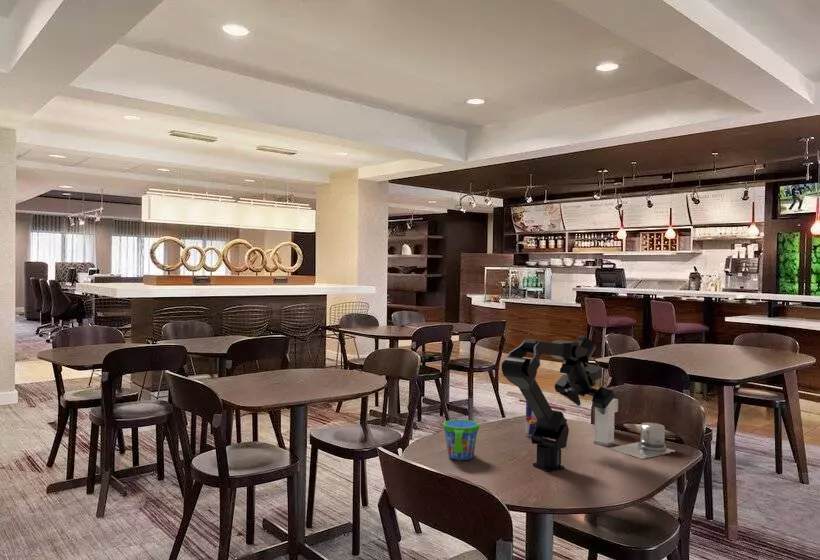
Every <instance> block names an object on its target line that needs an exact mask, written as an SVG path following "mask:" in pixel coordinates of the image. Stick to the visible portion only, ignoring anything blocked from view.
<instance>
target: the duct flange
mask: <svg viewBox="0 0 820 560" xmlns="http://www.w3.org/2000/svg"><path fill="white" fill-rule="evenodd" d="M665 427H666V426H665V425H663V424H661V423H657V422H642V423H640V441H637V442H631V443H628V444H621V445H618V446H614V447H613V446H612V447H609V449H610V450H612V451H616V452H619V453H622V454H625V455H628V456H630V455H631V456H632V457H633V456H634V458H636V457H637V459H640V460H646V459H649V458H654V457H659V456H663V455H666V454H667V455H668V454H672V453H671V452H673V453H676V452H675V451H676V450H674V449H671V448H669V447H668V448H667V445H666V444H665V433H666V432H665V429H666V428H665Z"/></svg>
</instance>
